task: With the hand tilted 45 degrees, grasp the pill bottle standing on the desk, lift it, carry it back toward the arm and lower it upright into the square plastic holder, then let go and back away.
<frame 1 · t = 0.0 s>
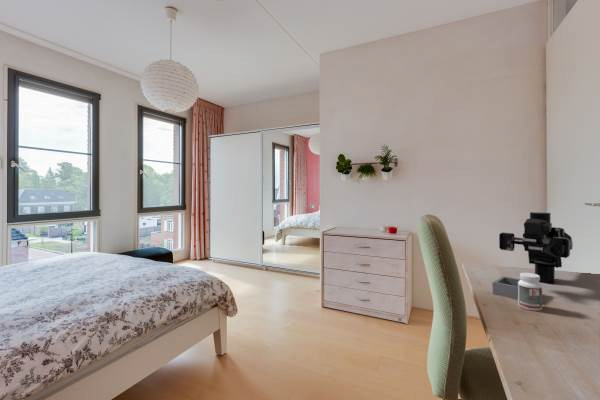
hand: (524, 247, 91), 17 cm above the table, tool horizontal, fingers open, 9 cm apart
pill bottle: (529, 307, 85), on the table
bottle holder: (515, 294, 95), on the table
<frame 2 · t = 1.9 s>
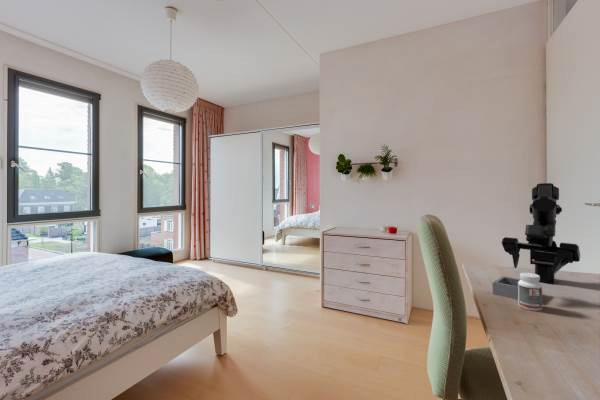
hand: (533, 270, 87), 11 cm above the table, tool tilted 45°, fingers open, 9 cm apart
nothing on the table moved.
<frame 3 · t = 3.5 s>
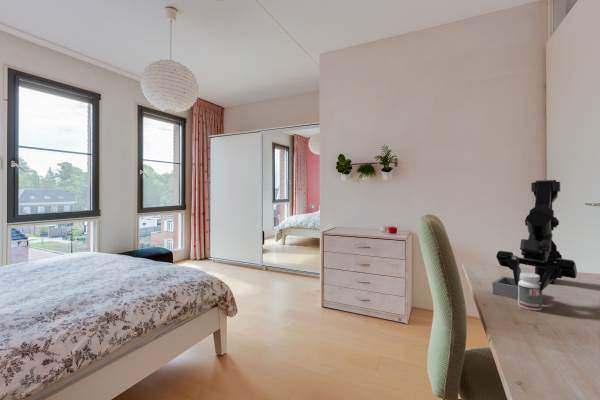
hand: (528, 286, 84), 7 cm above the table, tool tilted 45°, fingers closed on pill bottle, 6 cm apart
pill bottle: (529, 307, 85), on the table, touching gripper
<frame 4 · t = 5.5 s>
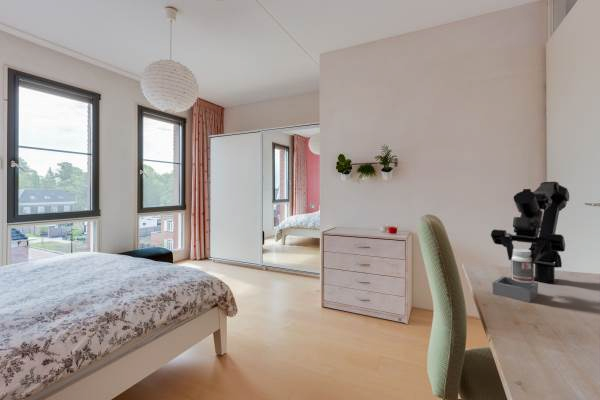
hand: (520, 261, 90), 13 cm above the table, tool tilted 45°, fingers closed on pill bottle, 6 cm apart
pill bottle: (522, 280, 91), point 6 cm above the table, touching gripper
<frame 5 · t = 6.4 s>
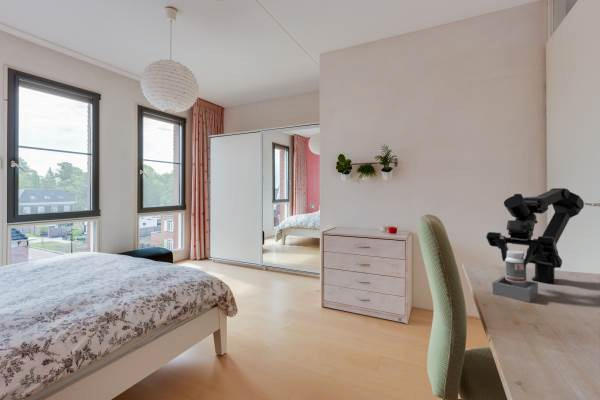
hand: (514, 262, 94), 11 cm above the table, tool tilted 45°, fingers closed on pill bottle, 6 cm apart
pill bottle: (515, 281, 95), point 4 cm above the table, touching gripper
when the fingers open (9 cm above the table, at t = 7.3 s): pill bottle drops 1 cm, resting on bottle holder.
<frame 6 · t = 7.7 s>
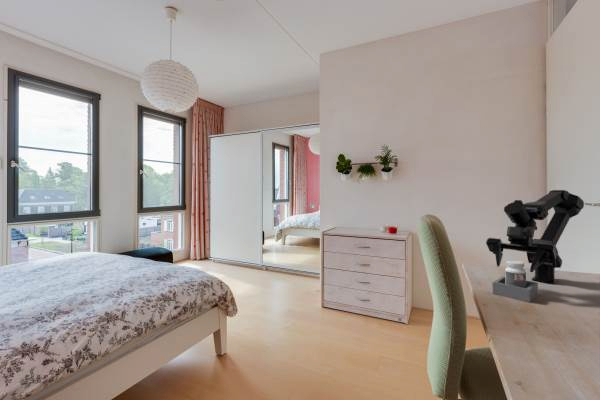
hand: (513, 268, 94), 9 cm above the table, tool tilted 45°, fingers open, 9 cm apart
pill bottle: (515, 291, 95), point 1 cm above the table, touching bottle holder
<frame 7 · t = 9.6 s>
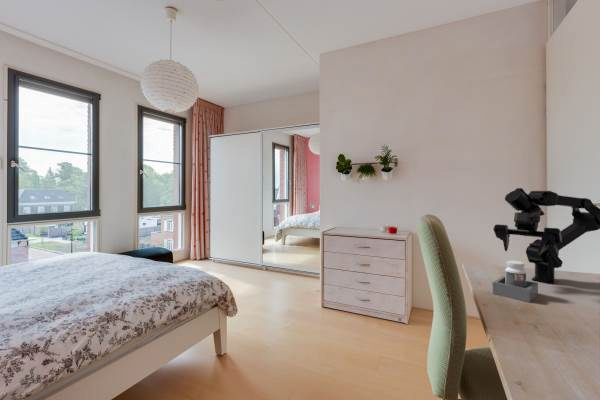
hand: (521, 252, 98), 13 cm above the table, tool tilted 45°, fingers open, 9 cm apart
nothing on the table moved.
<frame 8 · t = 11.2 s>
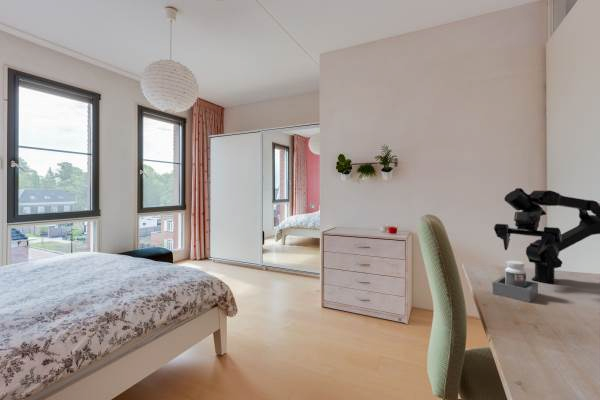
hand: (520, 251, 99), 14 cm above the table, tool tilted 45°, fingers open, 9 cm apart
nothing on the table moved.
at the end: pill bottle 0.2 cm off-centre on the bottle holder, point 0.8 cm above the bottle holder's base; pill bottle tilted 0°; the gripper is holding nothing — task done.
